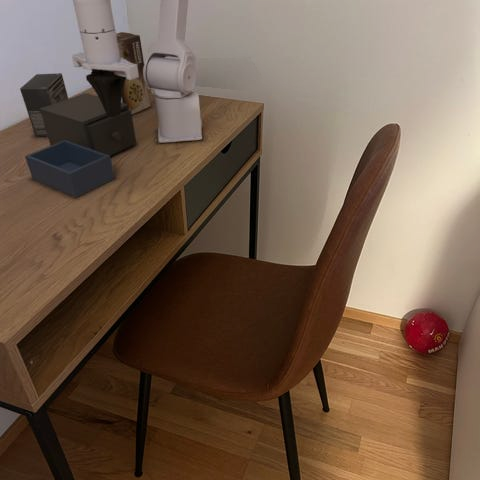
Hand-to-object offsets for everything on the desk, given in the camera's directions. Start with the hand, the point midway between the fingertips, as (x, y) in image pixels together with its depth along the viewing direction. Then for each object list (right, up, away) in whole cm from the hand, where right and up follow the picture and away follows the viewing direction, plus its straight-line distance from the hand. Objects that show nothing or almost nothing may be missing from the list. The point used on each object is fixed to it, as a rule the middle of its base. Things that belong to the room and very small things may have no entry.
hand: (113, 115), depth 87 cm
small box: (-20, +7, +24) cm, 32 cm away
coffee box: (-5, +15, +32) cm, 36 cm away
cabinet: (-9, 0, +16) cm, 18 cm away
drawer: (-7, 0, +14) cm, 15 cm away
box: (-9, -10, +4) cm, 14 cm away
